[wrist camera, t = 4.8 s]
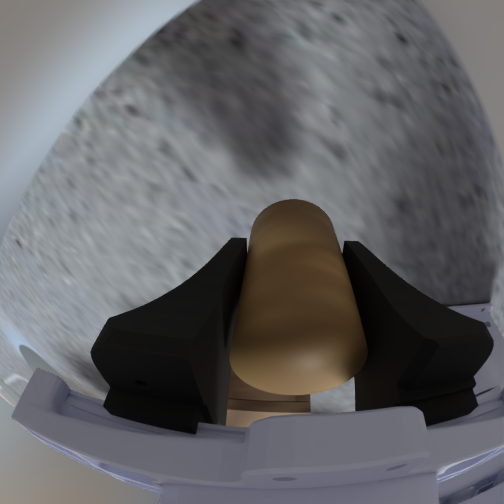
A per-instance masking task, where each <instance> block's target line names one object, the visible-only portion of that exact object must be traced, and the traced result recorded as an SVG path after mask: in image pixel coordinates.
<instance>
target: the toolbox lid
mask: <svg viewBox="0 0 504 504" xmlns="http://www.w3.org/2000/svg"><path fill="white" fill-rule="evenodd" d="M310 413H311V412H310V402H265V401H247V400H234V399H228V407H227V418H226V426H234V427H245V428H248V427H249V426H250V425H251V424H252V423H253V422H255V421H257V420H261V419H264V418H267V417H270V416H278V415H290V414H310Z"/></svg>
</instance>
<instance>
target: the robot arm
mask: <svg viewBox="0 0 504 504" xmlns="http://www.w3.org/2000/svg"><path fill="white" fill-rule="evenodd" d="M342 255H343V259H344V262H345V265H346V268H347V272H348V275H349V279H350V282H351V285H352V289H353V293H354V296H355V300H356V304H357V307H358V311H359V315H360V319H361V323H362V327H363V331H364V335H365V339H366V343H367V348H368V355H367V360H366V362H365V364H364V366H363V367H362V368H361V370H360V371H359V372H358V373H357V374H356V375H355V376H354V379H355V412H342V413H324V414H290V415H278V416H270V417H267V418H264V419H261V420H257V421H255V422H253V423H252V424H251V425H250V426H249V427H248V428H245V427H234V426H226V418H227V407H228V397H229V387H230V378H231V370H232V367H231V365H230V360H229V358H230V350H231V344H232V338H233V333H234V327H235V321H236V315H237V309H238V304H239V298H240V292H241V287H242V281H243V275H244V269H245V264H246V258H247V238H231V239H230V240H229V241H228V242H227V243H226V244H225V245H224V246H223V247H222V248H221V250H220V251H219V252H218V253H217V254H216V255H215V256H214V257H213V258H212V259H211V260H210V261H209V262H208V263H207V264H206V265H205V266H203V267H202V268H201V269H200V270H199V271H198V272H197V273H195V274H194V275H193V276H192V277H190V278H189V279H188V280H186V281H185V282H183V283H182V284H181V285H179V286H178V287H176V288H175V289H173V290H171V291H169V292H168V293H166V294H164V295H163V296H161V297H159V298H157V299H155V300H153V301H151V302H149V303H147V304H145V305H143V306H140V307H138V308H136V309H133V310H131V311H128V312H125V313H122V314H119V315H117V316H114V317H111V318H109V319H108V320H107V322H106V324H105V325H104V327H103V329H102V330H101V332H100V334H99V336H98V338H97V339H96V341H95V343H94V345H93V347H92V349H91V358H92V360H93V362H94V364H95V366H96V368H97V369H98V370H99V372H100V373H101V375H102V376H103V377H104V379H105V380H106V382H107V383H108V384H109V386H110V390H109V392H108V394H107V397H106V399H105V401H103V400H100V399H96V398H93V397H90V396H87V395H85V394H82V393H79V392H76V391H73V390H71V389H70V388H69V386H68V385H67V384H66V382H65V381H63V379H61V378H60V377H59V376H57V375H55V374H52V373H50V372H47V371H45V370H42V369H40V368H36V370H35V372H34V374H33V375H32V377H31V379H30V381H29V383H28V384H27V386H26V388H25V390H24V392H23V394H22V396H21V398H20V400H19V402H18V404H17V406H16V408H15V410H14V412H13V414H12V419H13V420H15V421H16V422H17V423H18V424H19V425H21V426H22V427H23V428H24V429H26V430H27V431H28V432H29V433H31V434H32V435H34V436H35V437H36V438H38V439H39V440H40V441H42V442H43V443H45V444H46V445H48V446H49V447H51V448H52V449H54V450H56V451H58V452H60V453H62V454H64V455H66V456H68V457H69V458H72V459H73V460H75V461H78V462H80V463H82V464H84V465H86V466H88V467H90V468H92V469H95V470H97V471H99V472H102V473H104V474H106V475H109V476H111V477H114V478H116V479H119V480H121V481H124V482H127V483H130V484H133V485H136V486H138V487H141V488H145V489H148V490H151V491H154V492H157V493H160V497H159V502H158V504H504V338H503V336H502V334H501V332H500V331H499V329H498V327H497V325H496V324H495V322H494V320H493V319H492V317H491V315H490V312H491V310H492V308H493V306H492V304H491V303H486V304H475V305H463V306H450V307H446V306H444V305H442V304H440V303H438V302H436V301H435V300H433V299H431V298H430V297H428V296H426V295H425V294H423V293H421V292H420V291H418V290H417V289H416V288H414V287H413V286H411V285H410V284H408V283H407V282H406V281H404V280H403V279H402V278H401V277H399V276H398V275H397V274H396V273H394V272H393V271H392V270H391V269H390V268H388V267H387V266H386V265H385V264H384V263H383V262H382V261H380V260H379V259H378V258H377V257H376V256H375V255H374V254H373V253H372V252H370V251H369V250H368V249H367V248H366V247H365V246H364V245H362V244H361V243H360V242H359V241H344V247H343V253H342Z"/></svg>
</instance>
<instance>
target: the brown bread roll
mask: <svg viewBox="0 0 504 504" xmlns="http://www.w3.org/2000/svg"><path fill="white" fill-rule="evenodd" d="M367 355H368V348H367V343H366V339H365V335H364V331H363V327H362V323H361V319H360V315H359V311H358V307H357V304H356V300H355V296H354V293H353V289H352V285H351V282H350V279H349V275H348V272H347V268H346V265H345V262H344V259H343V255H342V252H341V249H340V246H339V243H338V240H337V237H336V234H335V231H334V228H333V225H332V222H331V220H330V218H329V217H328V215H327V214H326V213H325V212H324V211H323V210H322V209H321V208H320V207H318V206H316V205H315V204H313V203H310V202H308V201H304V200H298V199H290V200H283V201H279V202H276V203H274V204H272V205H270V206H268V207H267V208H265V209H264V210H263V211H262V212H261V213H260V214H259V215H258V217H257V218H256V220H255V221H254V224H253V226H252V230H251V235H250V241H249V247H248V252H247V258H246V264H245V269H244V275H243V281H242V287H241V292H240V298H239V304H238V309H237V315H236V321H235V327H234V333H233V338H232V344H231V350H230V358H229V360H230V365H231V367H232V369H233V371H234V372H235V374H236V375H237V376H238V377H239V378H240V379H241V380H243V381H244V382H245V383H247V384H249V385H250V386H253V387H255V388H257V389H260V390H262V391H266V392H270V393H274V394H281V395H307V394H314V393H319V392H323V391H326V390H329V389H332V388H335V387H337V386H339V385H341V384H343V383H345V382H347V381H348V380H350V379H351V378H352V377H354V376H355V375H356V374H357V373H358V372H359V371H360V370H361V368H362V367H363V366H364V364H365V362H366V360H367Z"/></svg>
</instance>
